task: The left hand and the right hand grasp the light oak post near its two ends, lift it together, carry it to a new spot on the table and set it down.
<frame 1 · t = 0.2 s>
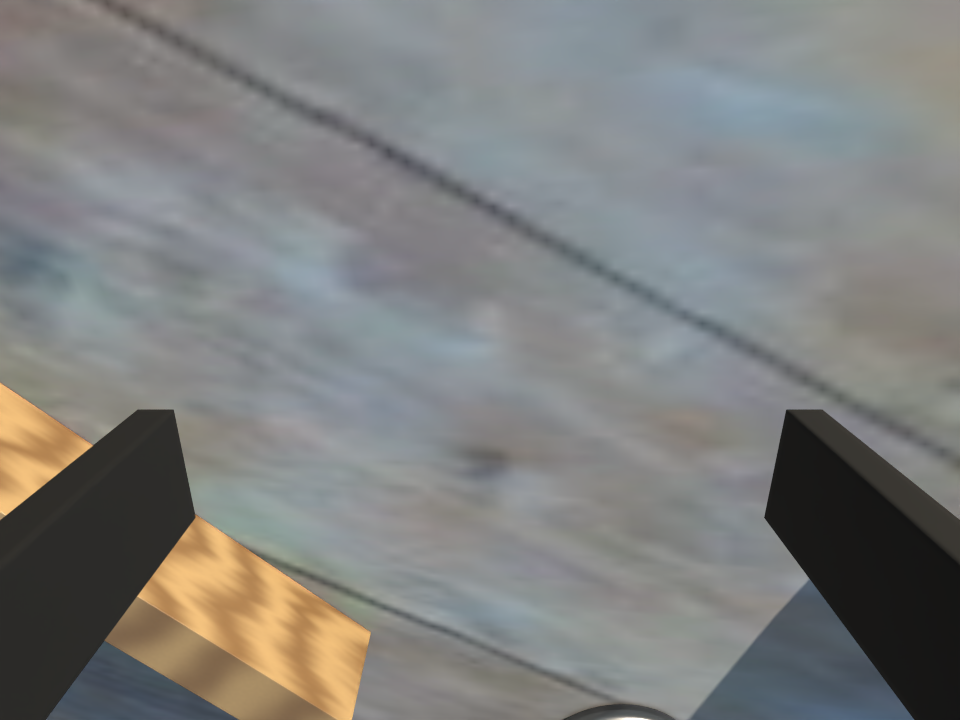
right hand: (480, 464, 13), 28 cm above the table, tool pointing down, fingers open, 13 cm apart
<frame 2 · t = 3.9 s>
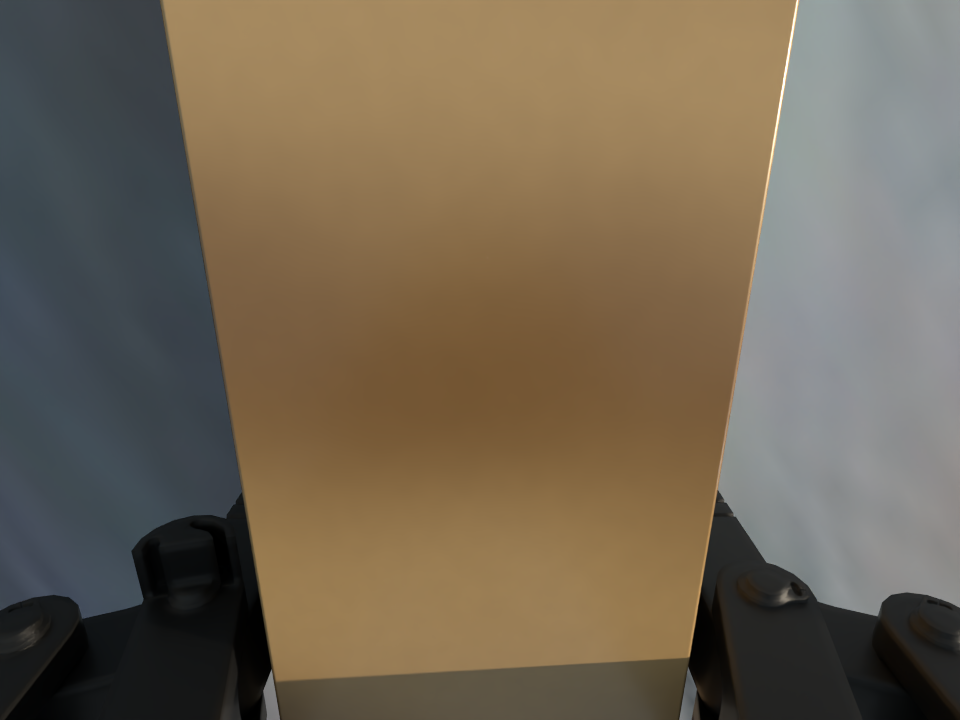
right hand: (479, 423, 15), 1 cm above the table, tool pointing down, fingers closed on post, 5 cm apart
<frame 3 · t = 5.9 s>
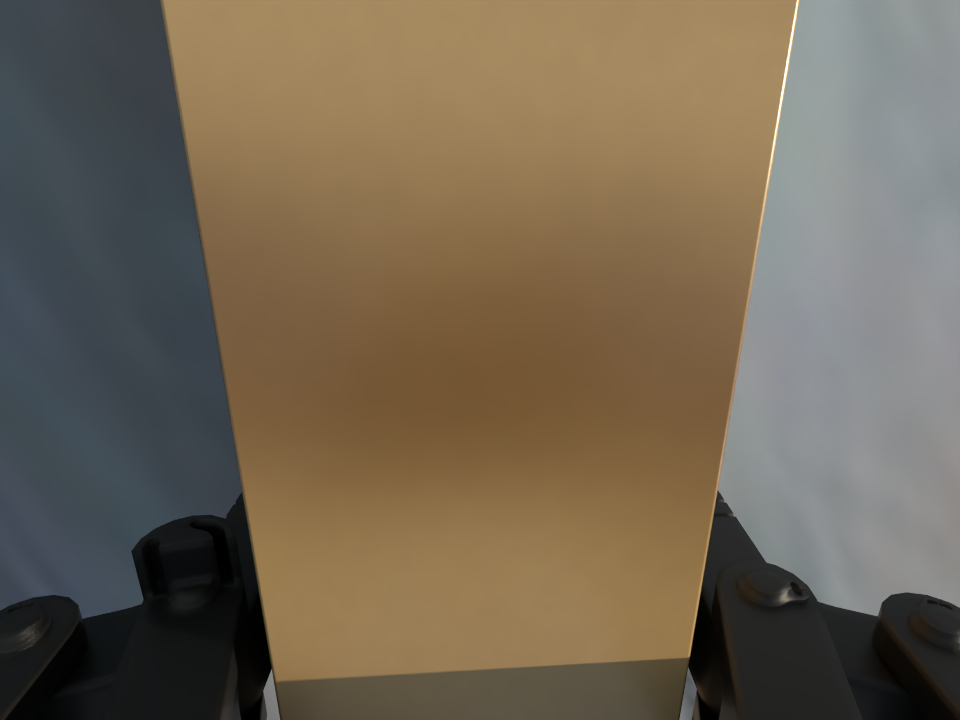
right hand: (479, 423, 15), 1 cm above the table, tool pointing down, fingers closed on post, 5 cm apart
when the right hand's fingers open (1 cm above the table, at t = 10.6 s): post stays where it is, on the table.
when the left hand's fingers open (5 cm above the table, at t = 10.8 s): post stays where it is, on the table.
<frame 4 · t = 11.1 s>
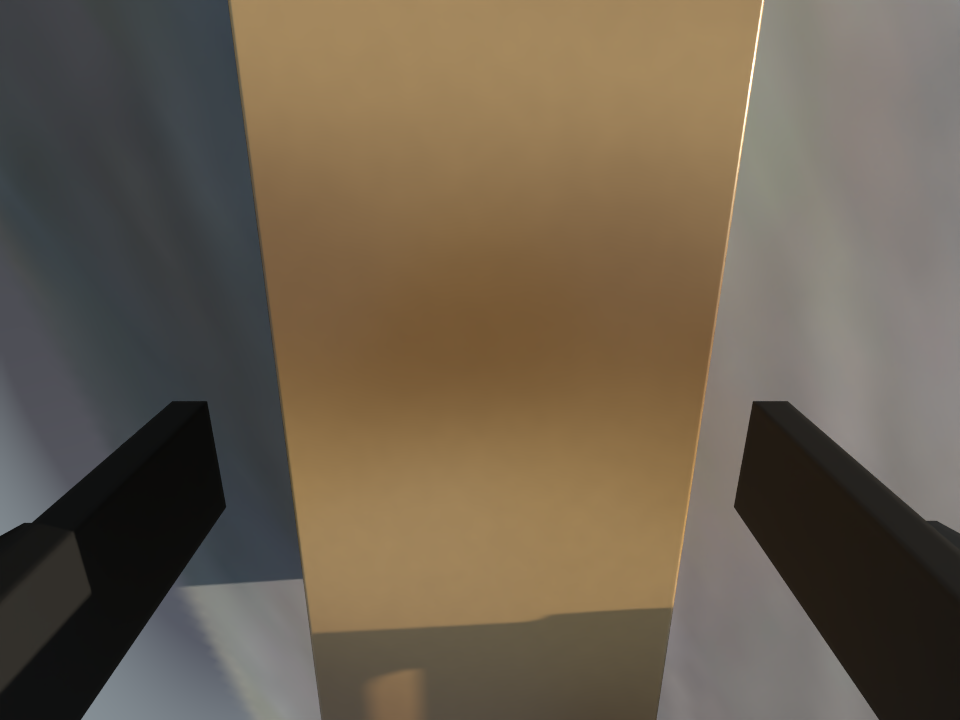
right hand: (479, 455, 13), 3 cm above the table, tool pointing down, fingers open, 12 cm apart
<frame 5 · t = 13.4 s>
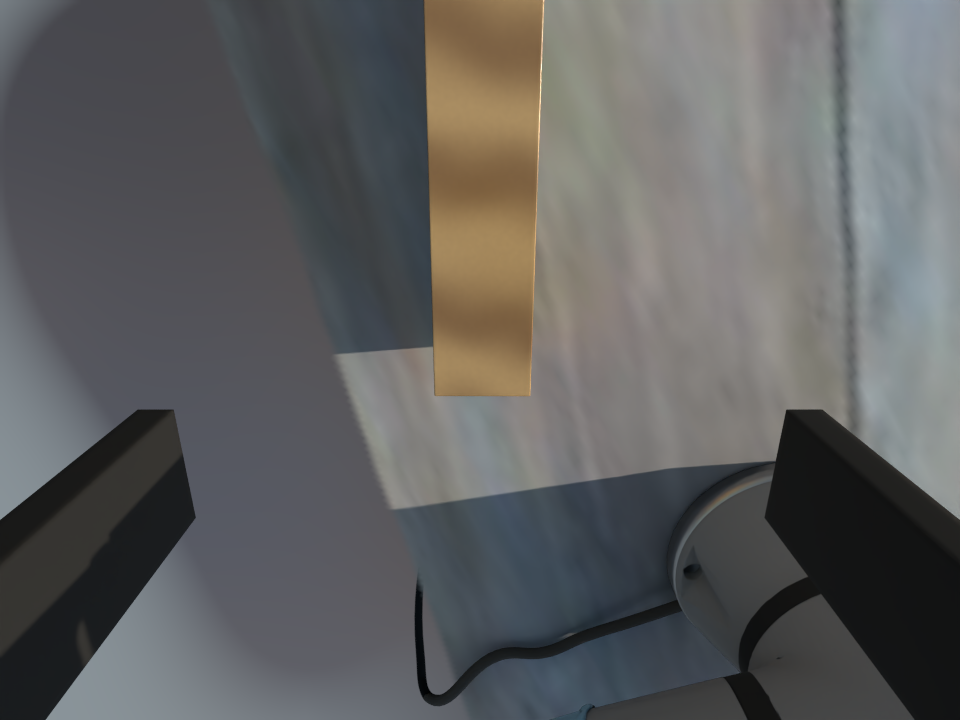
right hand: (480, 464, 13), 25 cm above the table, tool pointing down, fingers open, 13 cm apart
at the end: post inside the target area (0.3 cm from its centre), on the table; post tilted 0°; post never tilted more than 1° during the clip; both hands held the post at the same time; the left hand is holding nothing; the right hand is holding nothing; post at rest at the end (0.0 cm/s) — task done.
